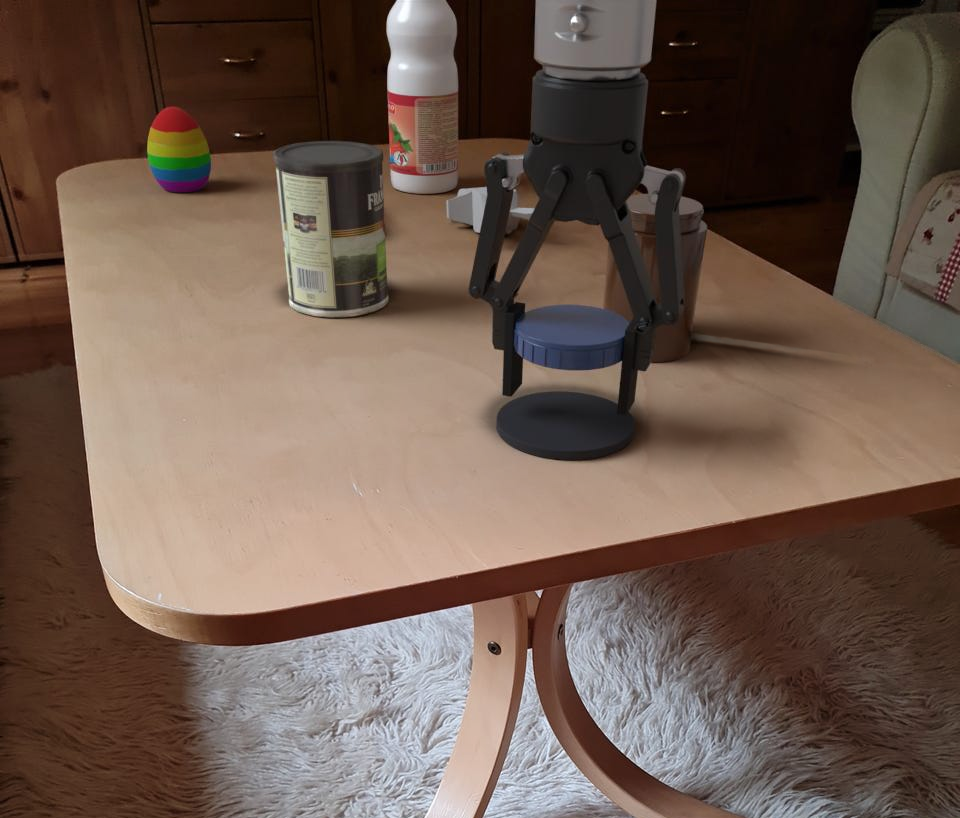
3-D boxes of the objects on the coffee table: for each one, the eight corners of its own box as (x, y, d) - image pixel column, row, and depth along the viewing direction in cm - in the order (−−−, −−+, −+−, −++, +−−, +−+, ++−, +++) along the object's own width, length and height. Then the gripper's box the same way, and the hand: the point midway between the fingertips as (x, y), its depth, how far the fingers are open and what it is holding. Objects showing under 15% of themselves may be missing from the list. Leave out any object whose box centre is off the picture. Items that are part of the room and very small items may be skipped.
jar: (696, 336, 97) (717, 197, 89) (679, 368, 91) (700, 221, 83) (611, 324, 99) (625, 188, 92) (589, 354, 93) (601, 210, 85)
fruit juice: (451, 197, 137) (450, -53, 120) (383, 193, 138) (373, -55, 121) (463, 180, 144) (464, -57, 127) (399, 177, 146) (392, -59, 129)
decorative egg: (143, 186, 139) (128, 105, 133) (196, 177, 143) (185, 99, 137) (170, 198, 134) (156, 115, 128) (225, 189, 138) (214, 108, 132)
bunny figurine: (503, 178, 129) (553, 192, 117) (504, 221, 132) (553, 239, 120) (434, 184, 126) (477, 198, 114) (436, 228, 129) (478, 246, 117)
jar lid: (558, 320, 81) (559, 296, 80) (650, 346, 77) (653, 321, 76) (491, 351, 76) (491, 326, 75) (586, 381, 72) (588, 355, 70)
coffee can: (391, 285, 108) (386, 140, 99) (385, 319, 99) (379, 164, 91) (295, 283, 107) (281, 138, 99) (280, 317, 99) (264, 163, 91)
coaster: (647, 412, 83) (648, 403, 83) (615, 470, 75) (616, 461, 74) (521, 391, 86) (521, 382, 86) (476, 445, 78) (476, 436, 77)
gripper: (416, 66, 65) (423, 396, 79) (749, 90, 60) (694, 440, 73) (458, 51, 71) (458, 361, 85) (765, 72, 65) (712, 400, 79)
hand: (568, 398), depth 79 cm, fingers closed on jar lid, 8 cm apart
